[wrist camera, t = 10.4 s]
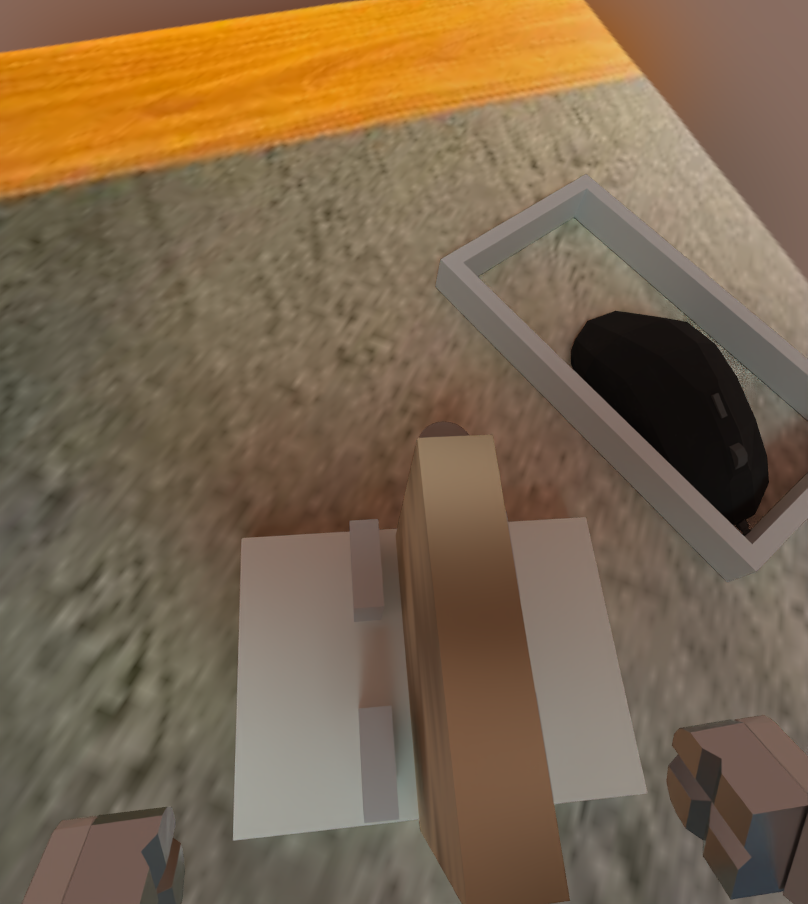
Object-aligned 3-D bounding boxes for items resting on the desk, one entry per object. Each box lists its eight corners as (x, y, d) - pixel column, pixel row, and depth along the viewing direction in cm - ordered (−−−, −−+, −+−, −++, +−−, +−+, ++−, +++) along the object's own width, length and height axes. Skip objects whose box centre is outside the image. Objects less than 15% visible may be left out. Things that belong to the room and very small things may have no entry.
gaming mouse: (717, 613, 25) (780, 595, 21) (544, 346, 30) (571, 295, 26) (823, 555, 27) (898, 529, 23) (641, 310, 32) (679, 257, 28)
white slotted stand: (629, 788, 21) (693, 805, 17) (241, 831, 20) (212, 861, 16) (573, 527, 26) (615, 491, 21) (248, 548, 24) (226, 514, 20)
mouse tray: (858, 447, 28) (892, 429, 27) (727, 582, 25) (756, 571, 23) (573, 202, 34) (586, 173, 32) (435, 286, 30) (440, 259, 29)
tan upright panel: (479, 822, 19) (569, 900, 11) (419, 829, 19) (468, 914, 11) (441, 504, 24) (486, 394, 16) (392, 507, 24) (413, 397, 16)
